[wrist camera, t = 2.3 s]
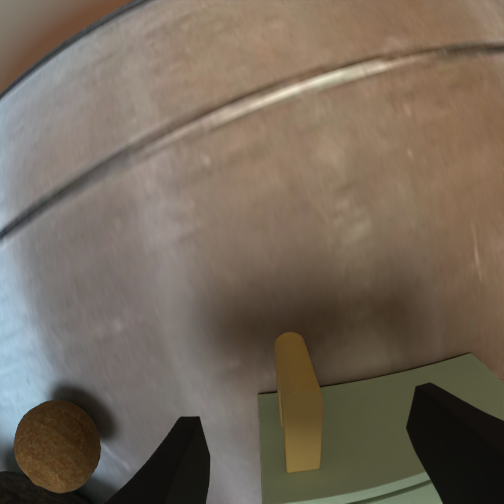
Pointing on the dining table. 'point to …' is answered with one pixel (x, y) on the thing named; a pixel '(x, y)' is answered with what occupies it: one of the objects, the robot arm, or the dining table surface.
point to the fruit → (57, 446)
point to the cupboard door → (351, 427)
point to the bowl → (31, 492)
